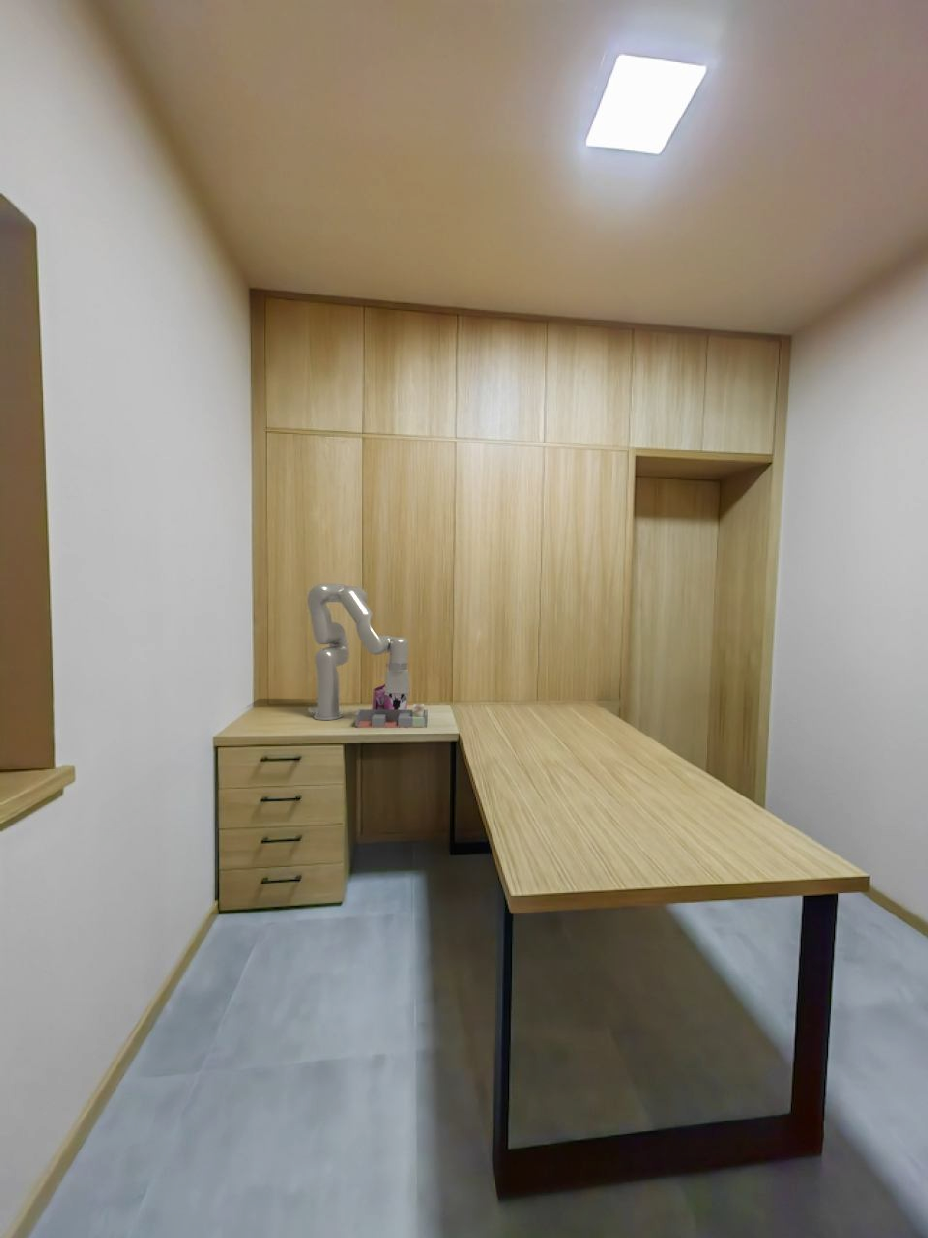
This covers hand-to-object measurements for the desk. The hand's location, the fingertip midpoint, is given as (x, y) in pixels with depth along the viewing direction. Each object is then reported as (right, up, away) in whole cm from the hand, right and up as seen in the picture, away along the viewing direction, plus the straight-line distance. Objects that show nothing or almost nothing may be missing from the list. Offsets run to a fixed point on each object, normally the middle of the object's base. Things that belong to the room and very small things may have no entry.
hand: (396, 708), depth 210 cm
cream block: (+9, -3, 0) cm, 10 cm away
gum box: (-5, -6, +18) cm, 20 cm away
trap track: (-2, -7, 0) cm, 7 cm away
